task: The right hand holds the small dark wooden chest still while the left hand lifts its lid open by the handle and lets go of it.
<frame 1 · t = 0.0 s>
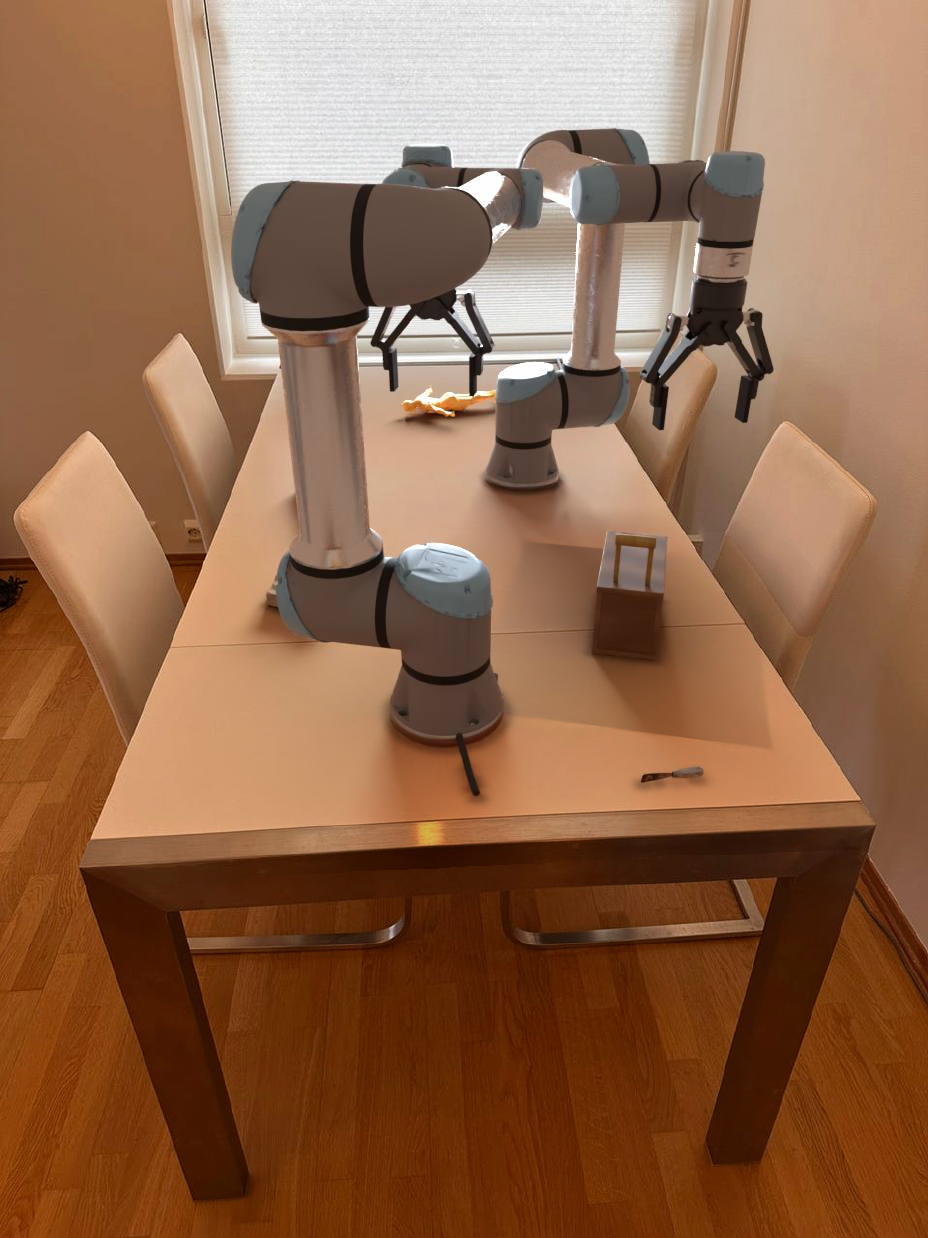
left hand: (433, 391, 149), 28 cm above the table, tool pointing down, fingers open, 13 cm apart
right hand: (699, 423, 136), 28 cm above the table, tool pointing down, fingers open, 13 cm apart
lid: (635, 541, 131), point 15 cm above the table, hinge at 0.0°
handgun: (332, 501, 179), on the table
chest: (626, 626, 139), on the table
putty knife: (671, 781, 109), on the table
stone: (305, 604, 145), on the table
human figure: (450, 410, 226), on the table
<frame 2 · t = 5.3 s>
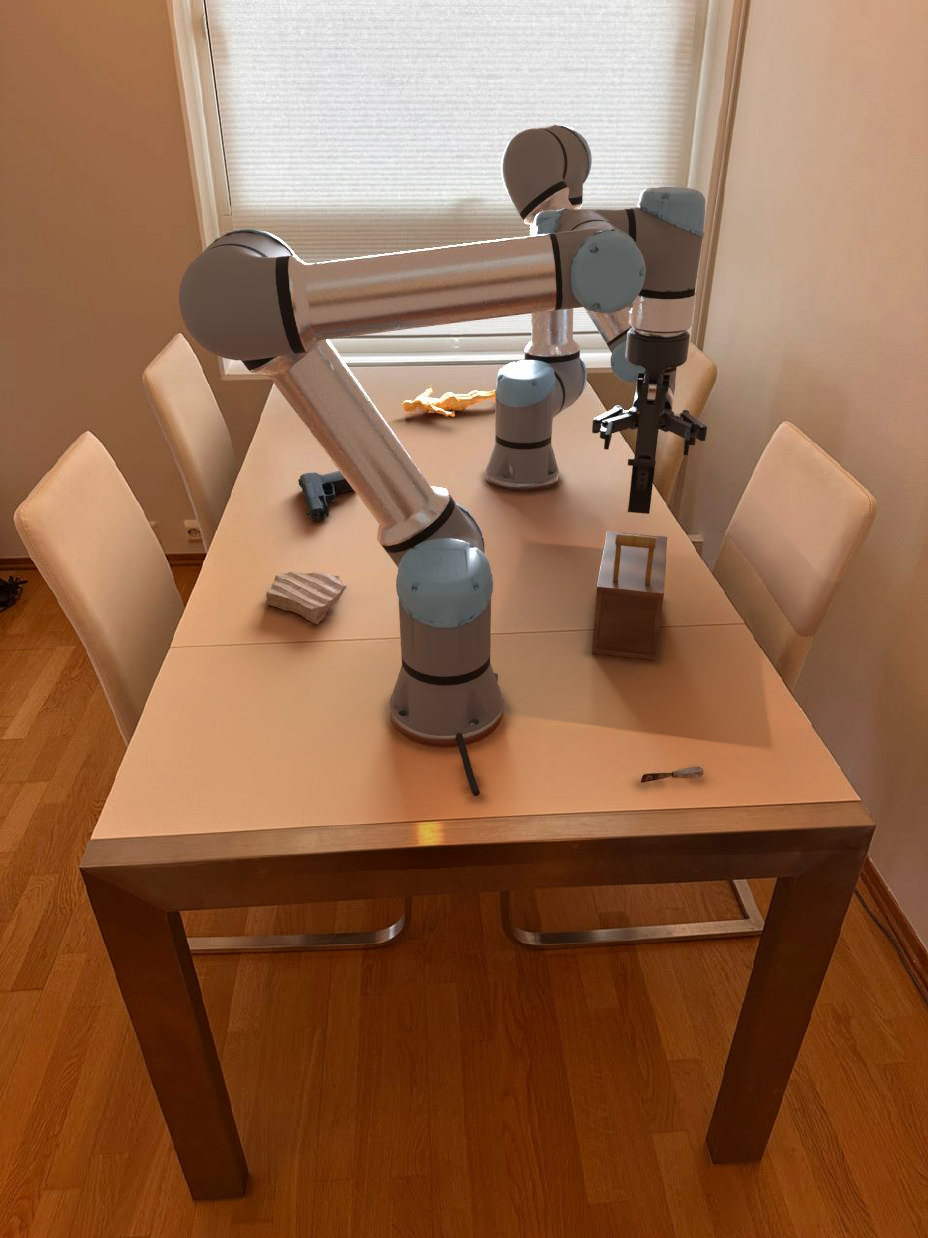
left hand: (641, 490, 120), 26 cm above the table, tool pointing down, fingers open, 13 cm apart
right hand: (646, 444, 154), 19 cm above the table, tool horizontal, fingers open, 13 cm apart
nothing on the table moved.
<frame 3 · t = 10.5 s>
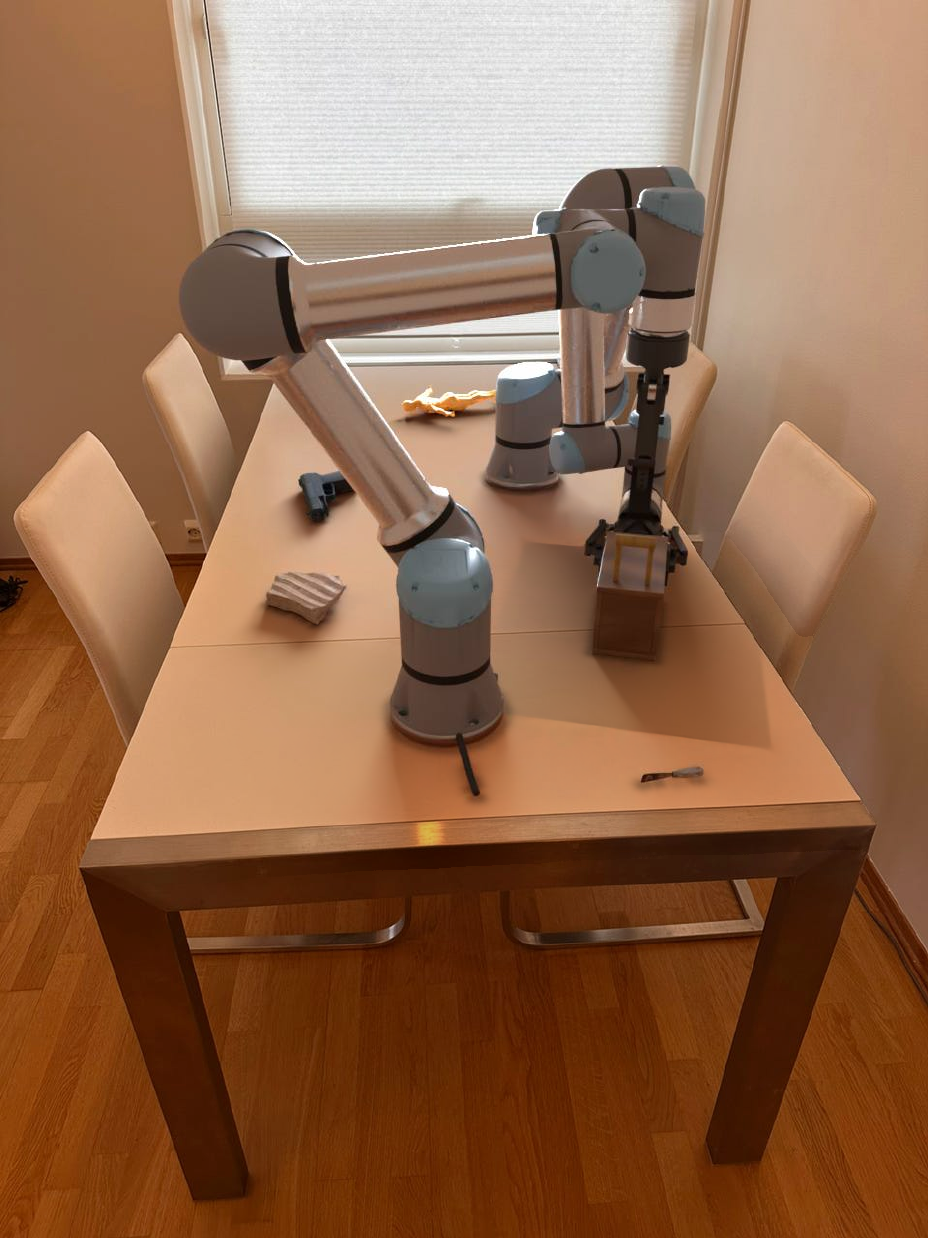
left hand: (641, 490, 120), 26 cm above the table, tool pointing down, fingers open, 13 cm apart
right hand: (632, 575, 140), 6 cm above the table, tool horizontal, fingers closed on chest, 9 cm apart
chest: (626, 626, 139), on the table, touching right hand
everything else where it was.
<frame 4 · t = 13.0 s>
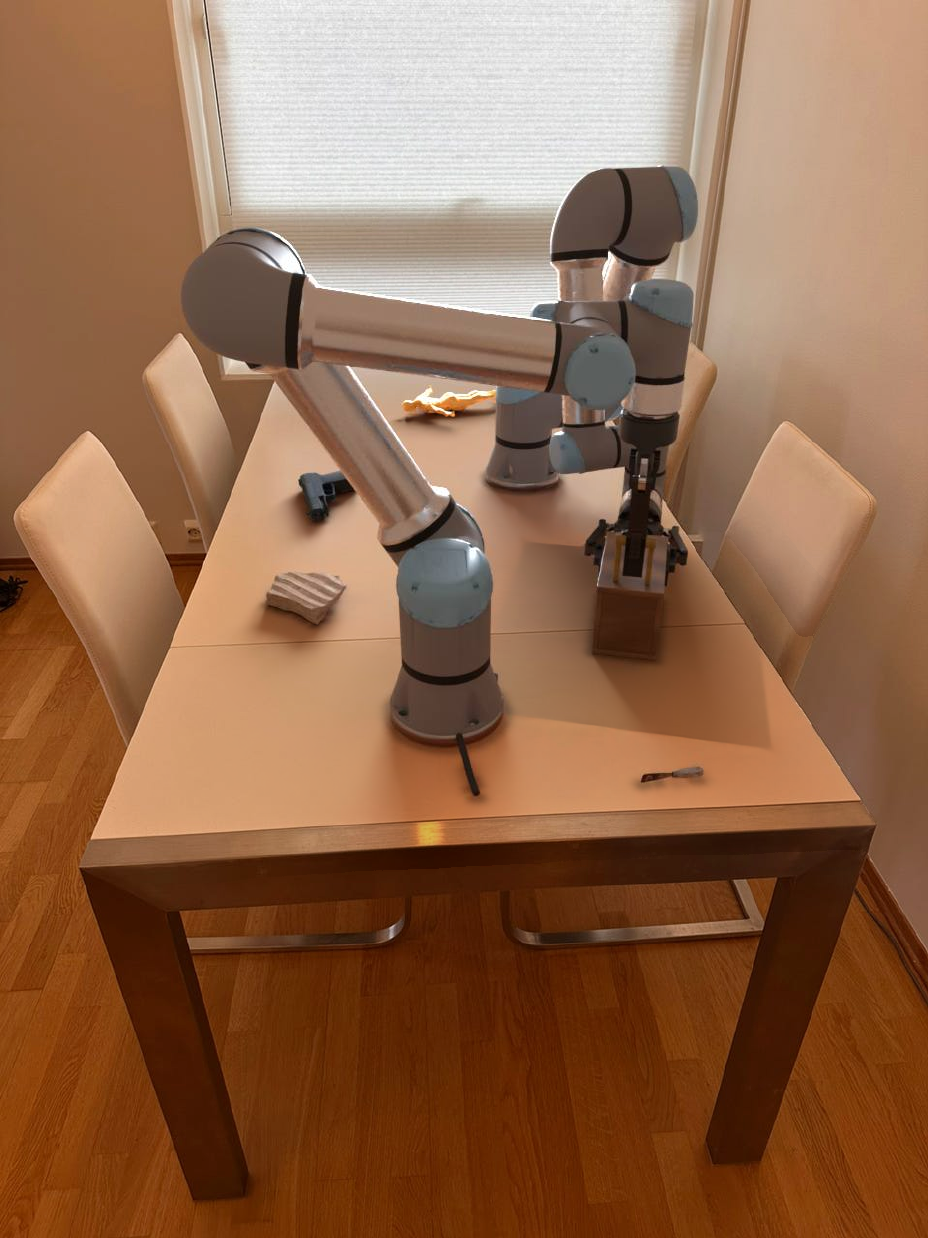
left hand: (632, 571, 126), 14 cm above the table, tool pointing down, fingers closed on lid, 2 cm apart
right hand: (632, 575, 140), 6 cm above the table, tool horizontal, fingers closed on chest, 9 cm apart
lid: (636, 541, 131), point 15 cm above the table, hinge at -0.1°, touching left hand
chest: (626, 626, 139), on the table, touching right hand
everything else where it was.
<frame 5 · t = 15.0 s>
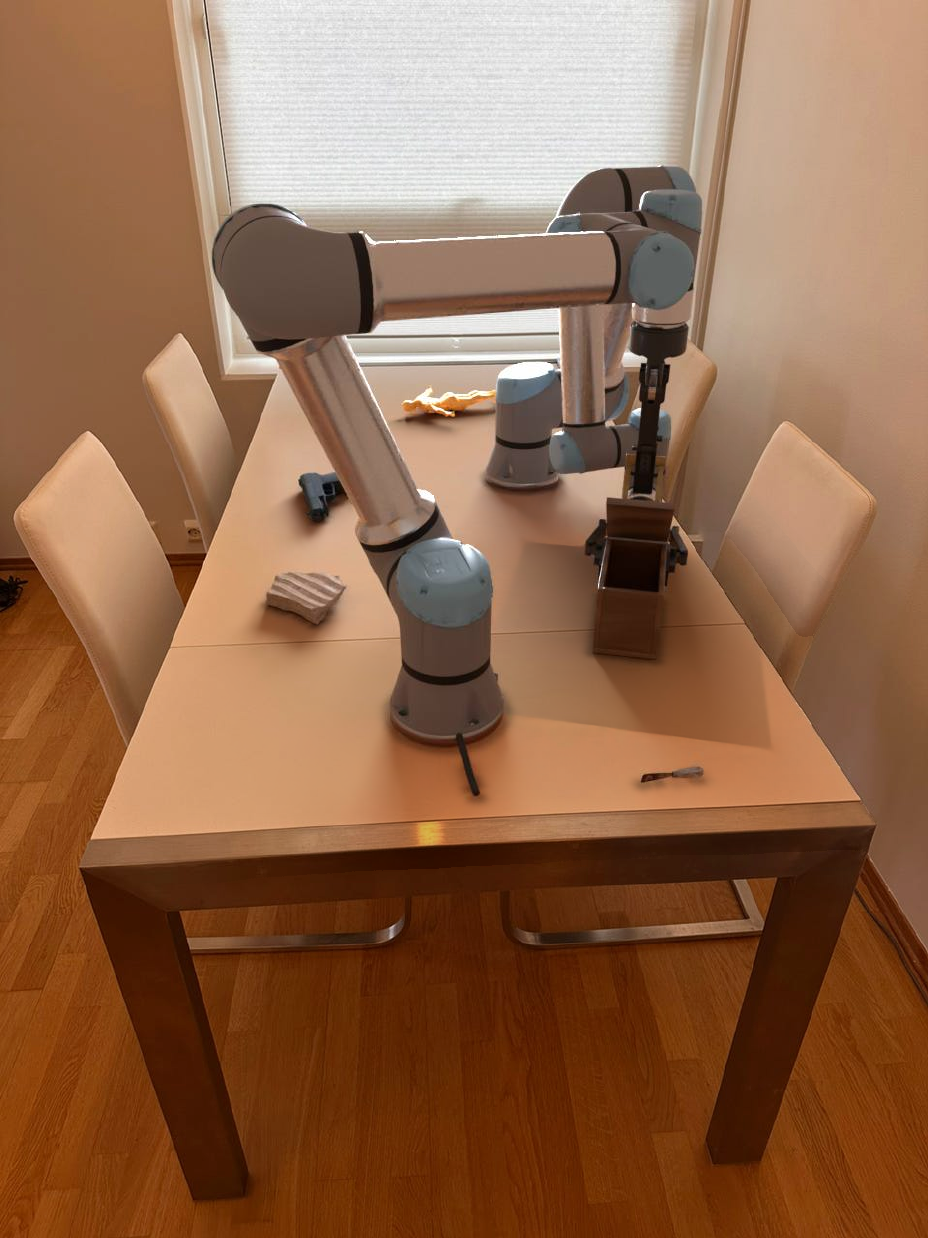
left hand: (642, 489, 128), 23 cm above the table, tool pointing down, fingers closed on lid, 2 cm apart
right hand: (632, 575, 140), 6 cm above the table, tool horizontal, fingers closed on chest, 9 cm apart
lid: (641, 497, 132), point 20 cm above the table, hinge at 40.4°, touching left hand
chest: (627, 626, 139), on the table, touching right hand
everything else where it was.
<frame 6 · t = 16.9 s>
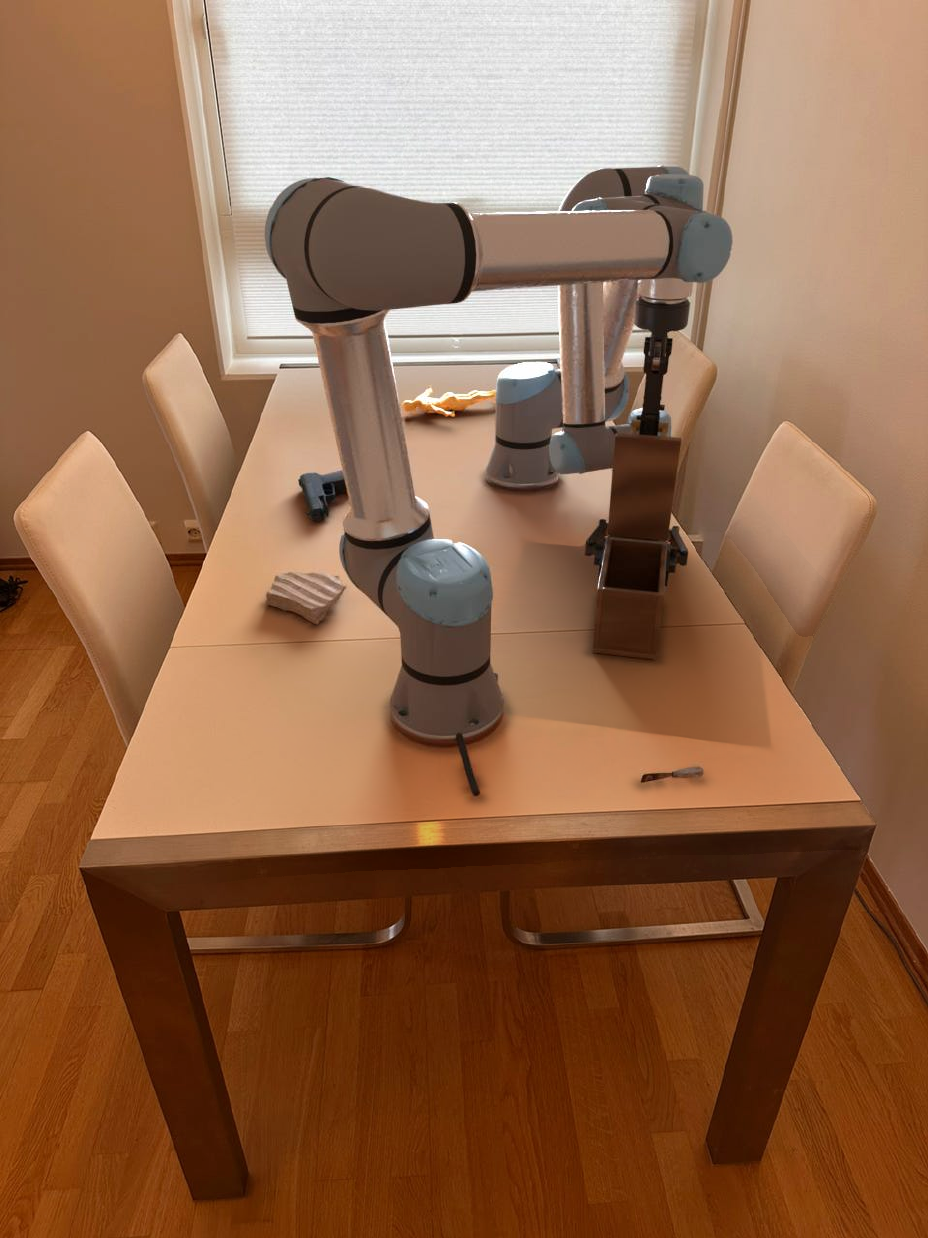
left hand: (646, 456, 137), 23 cm above the table, tool pointing down, fingers open, 2 cm apart
right hand: (633, 575, 140), 6 cm above the table, tool horizontal, fingers closed on chest, 9 cm apart
lid: (644, 475, 137), point 21 cm above the table, hinge at 78.6°
chest: (627, 626, 139), on the table, touching right hand
everything else where it was.
when the right hand's fingers open (6 cm above the table, at t = 20.9 s): chest stays where it is, on the table.
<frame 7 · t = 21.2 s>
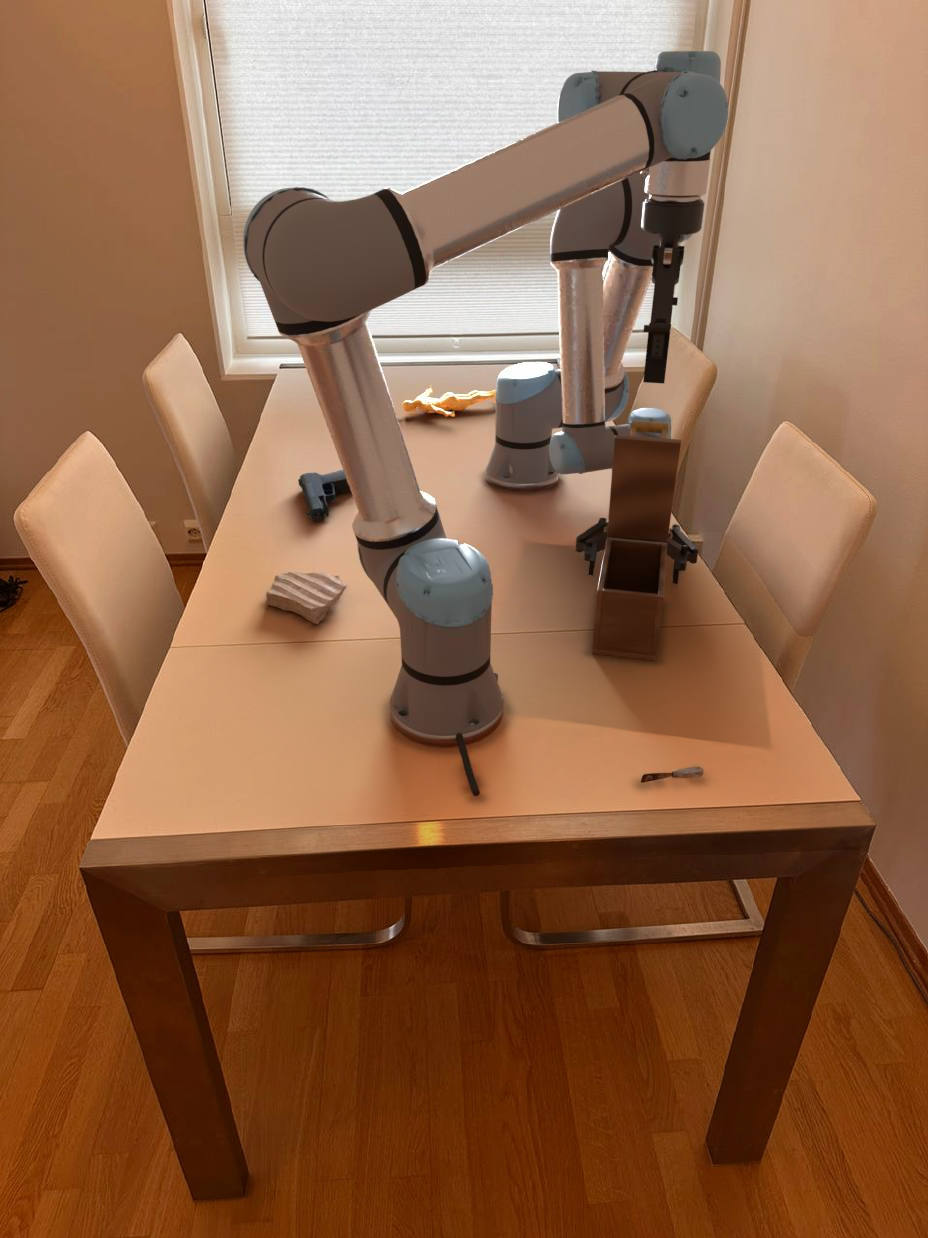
left hand: (655, 367, 122), 39 cm above the table, tool pointing down, fingers open, 13 cm apart
right hand: (633, 572, 141), 6 cm above the table, tool horizontal, fingers open, 13 cm apart
lid: (643, 476, 136), point 21 cm above the table, hinge at 77.8°
chest: (627, 626, 139), on the table
everything else where it was.
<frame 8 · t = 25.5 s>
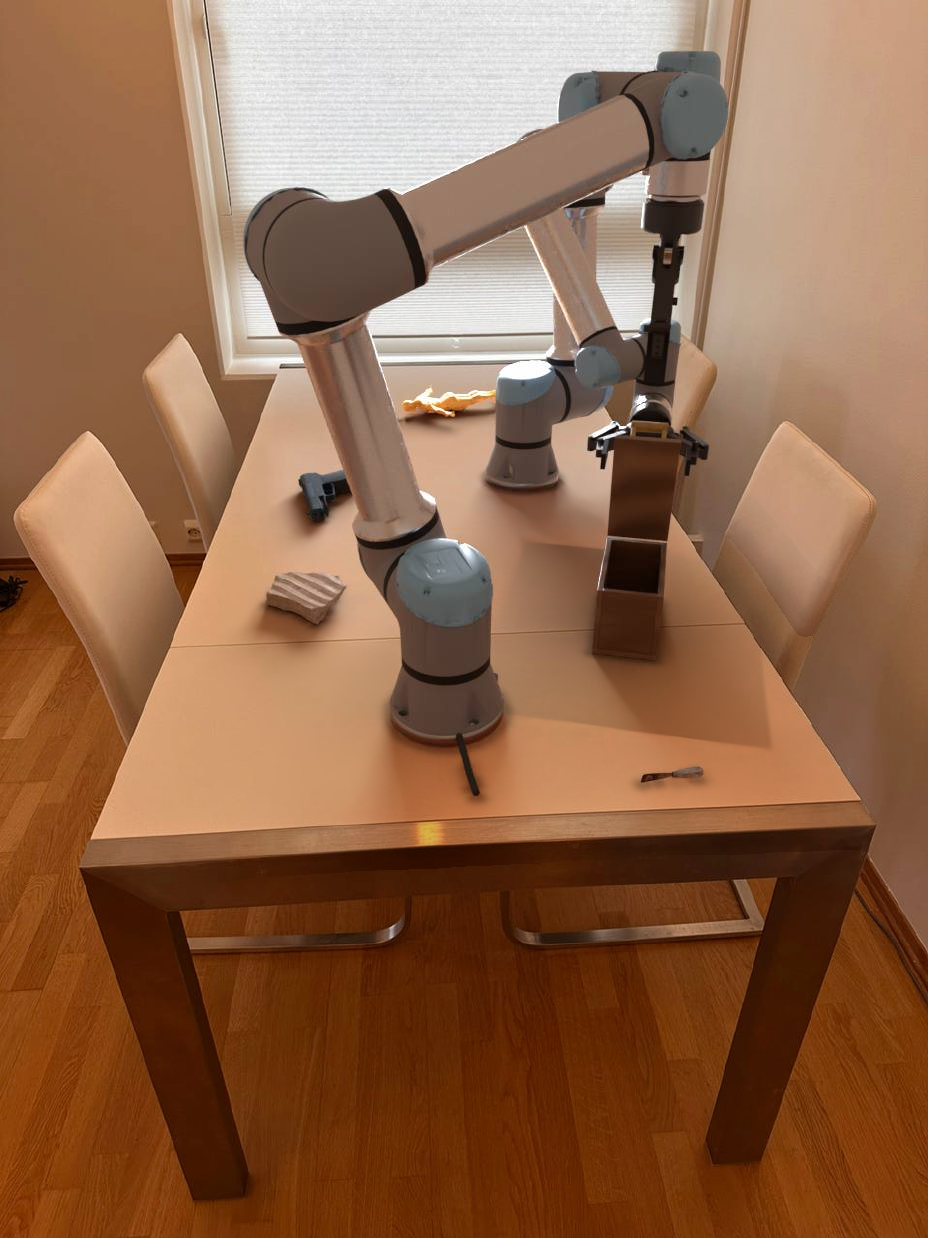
left hand: (655, 367, 122), 39 cm above the table, tool pointing down, fingers open, 13 cm apart
right hand: (645, 464, 145), 19 cm above the table, tool horizontal, fingers open, 13 cm apart
nothing on the table moved.
at the end: lid at +78° (first picture: +0°); the left hand is holding nothing; the right hand is holding nothing; chest tilted 0°; chest never tilted more than 1° during the clip; chest moved 0.1 cm from its start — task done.
